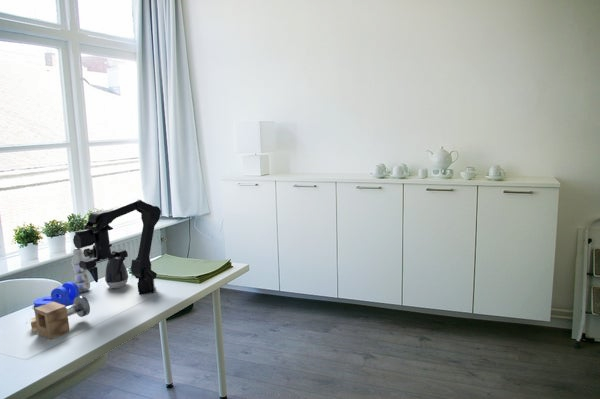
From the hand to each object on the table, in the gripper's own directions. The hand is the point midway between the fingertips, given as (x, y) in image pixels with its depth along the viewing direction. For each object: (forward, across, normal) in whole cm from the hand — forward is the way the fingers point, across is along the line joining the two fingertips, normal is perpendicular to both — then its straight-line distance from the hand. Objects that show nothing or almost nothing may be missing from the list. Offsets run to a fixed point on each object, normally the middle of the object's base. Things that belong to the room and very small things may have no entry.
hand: (106, 278), depth 187 cm
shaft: (+10, +19, +4) cm, 22 cm away
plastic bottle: (+12, -4, -28) cm, 31 cm away
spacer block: (+12, +27, -5) cm, 30 cm away
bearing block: (+12, +26, +4) cm, 29 cm away
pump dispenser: (+12, -16, -19) cm, 28 cm away
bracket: (+12, +11, -24) cm, 29 cm away
